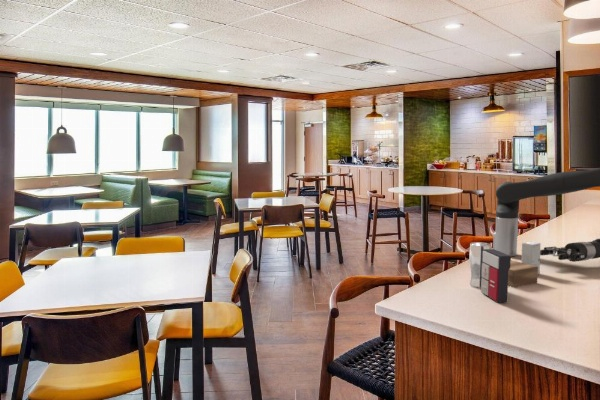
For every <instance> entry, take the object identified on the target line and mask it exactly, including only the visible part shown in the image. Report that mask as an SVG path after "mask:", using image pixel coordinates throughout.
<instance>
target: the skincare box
mask: <svg viewBox="0 0 600 400" xmlns="http://www.w3.org/2000/svg"><path fill="white" fill-rule="evenodd" d="M540 250H541V242H536V241H527V242H522V243H521V263H525V264H529V265H533V266H537V267H538V275H539V274H540V272H541V255H540Z"/></svg>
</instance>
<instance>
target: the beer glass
mask: <svg viewBox="0 0 600 400" xmlns="http://www.w3.org/2000/svg"><path fill="white" fill-rule="evenodd" d="M484 249H491V244H490V243H488V242H482V241H481V242H480V241H479V242H477V241H476V242H470V244H469V268H470V276H471V277H470V280H469V286H470V285H471V286H470V287H472V286H473V287H472V288H475V287H478V288H477V289H481V279H482V263H483V250H484Z"/></svg>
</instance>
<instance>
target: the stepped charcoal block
mask: <svg viewBox="0 0 600 400" xmlns="http://www.w3.org/2000/svg"><path fill="white" fill-rule="evenodd" d="M511 257H512V256H509V255H507V254H505V253H502V252H500V251H497V250H495V249H493V248H490V249H484V250H483V263H482V279H481V288H480V292H481V293H482V294H483V293H484V294H483V295H484V296H486V295H487V297H488V296H489V297H488V298H489V299H491V298H492V299H491V300H492V301H494V300H495V302H496V301H497V302H498V304H502V303H503V304H505V303H504V302H507V303H508V293H509V292H508V288H509V286H508V270H509V269H510V263H511V260H512V259H511ZM497 302H496V303H497Z"/></svg>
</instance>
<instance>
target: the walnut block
mask: <svg viewBox="0 0 600 400" xmlns="http://www.w3.org/2000/svg"><path fill="white" fill-rule="evenodd" d="M538 277H539V274H538V267H537V266H533V265H529V264H525V263H522V261H517V260H512V259H511V263H510V269H509V270H508V287H510V286H511V287H510V288H513V287H514V288H518V286H519V287H524V286H529V285H534V284H538Z"/></svg>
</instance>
